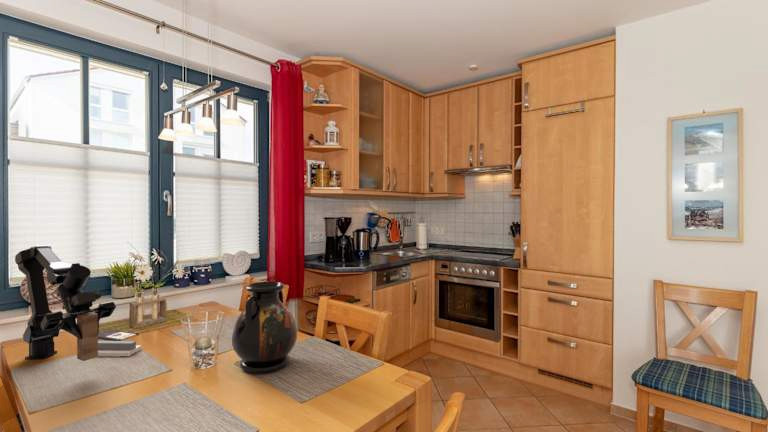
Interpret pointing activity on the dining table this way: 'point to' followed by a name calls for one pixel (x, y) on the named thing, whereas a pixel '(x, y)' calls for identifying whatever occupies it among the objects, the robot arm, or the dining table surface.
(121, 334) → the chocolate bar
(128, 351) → the board
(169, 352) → the dining table surface
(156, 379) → the dining table surface
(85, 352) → the walnut baton
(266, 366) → the amphora vase
